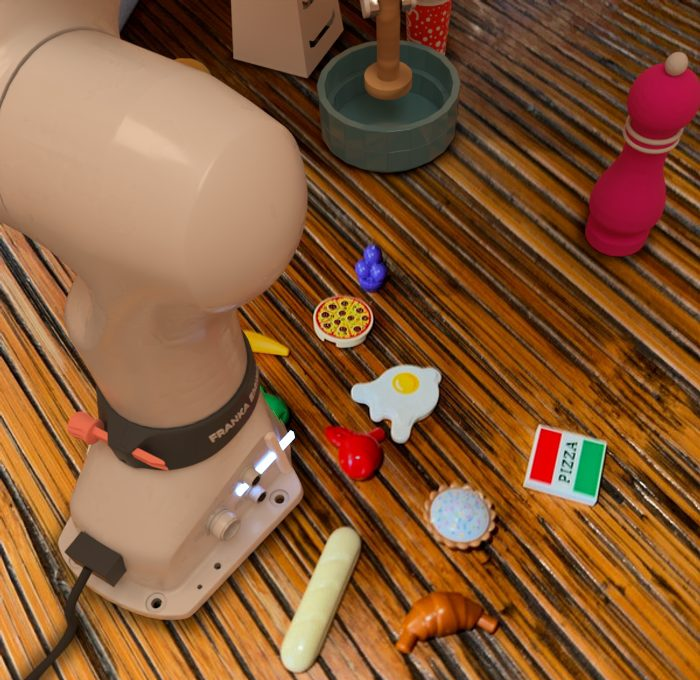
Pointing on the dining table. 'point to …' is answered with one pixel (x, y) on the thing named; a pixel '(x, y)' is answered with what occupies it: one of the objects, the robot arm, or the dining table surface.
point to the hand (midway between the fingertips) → (390, 12)
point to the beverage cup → (429, 23)
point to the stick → (388, 57)
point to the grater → (284, 33)
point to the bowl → (388, 110)
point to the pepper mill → (642, 158)
